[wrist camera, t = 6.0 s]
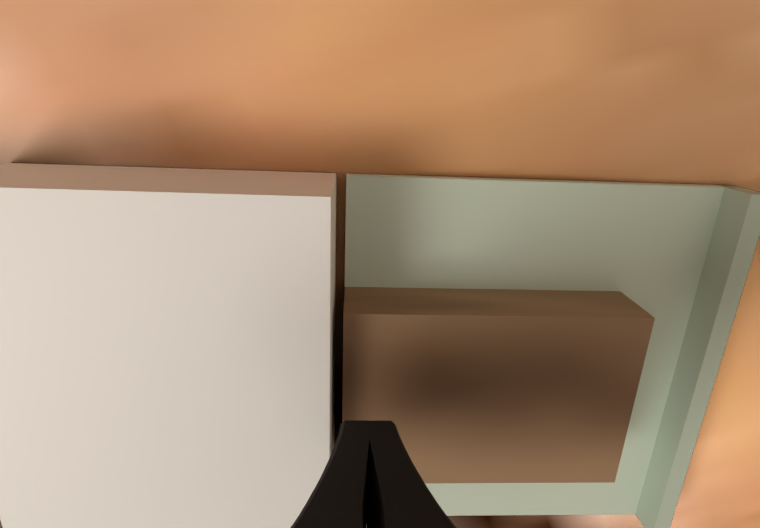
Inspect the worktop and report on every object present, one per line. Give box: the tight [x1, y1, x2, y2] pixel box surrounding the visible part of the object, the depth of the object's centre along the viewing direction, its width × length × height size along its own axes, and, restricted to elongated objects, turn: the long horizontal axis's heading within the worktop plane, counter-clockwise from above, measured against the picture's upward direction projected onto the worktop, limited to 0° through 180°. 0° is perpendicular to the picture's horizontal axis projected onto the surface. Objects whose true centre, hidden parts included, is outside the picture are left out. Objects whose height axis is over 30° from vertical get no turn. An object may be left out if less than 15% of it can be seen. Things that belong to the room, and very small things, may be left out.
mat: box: [344, 173, 760, 528], centre depth 17 cm, size 13×12×2 cm
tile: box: [342, 287, 655, 483], centre depth 16 cm, size 6×9×2 cm, turn 88°
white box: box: [0, 163, 337, 528], centre depth 15 cm, size 13×10×4 cm
